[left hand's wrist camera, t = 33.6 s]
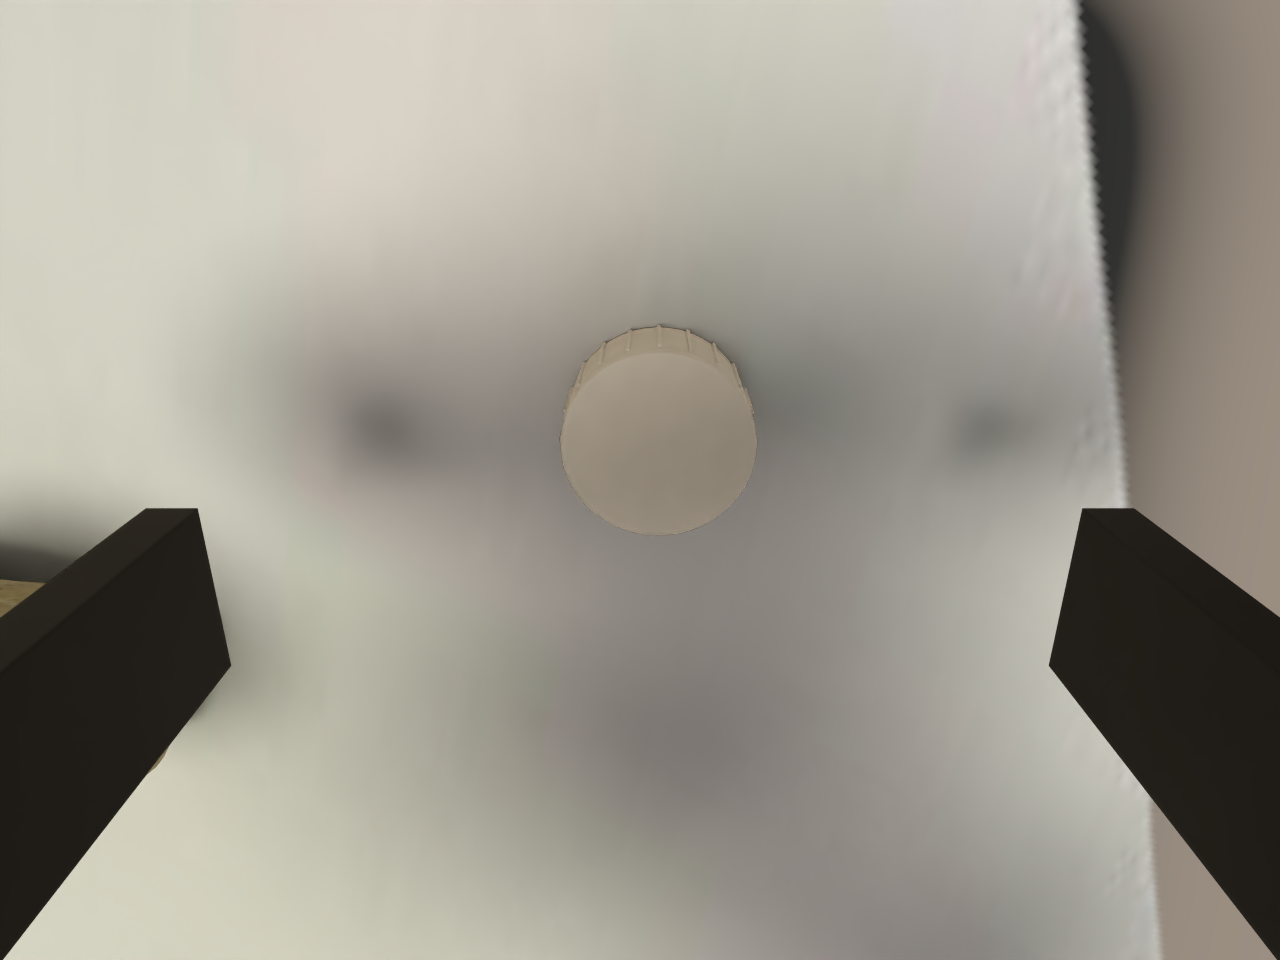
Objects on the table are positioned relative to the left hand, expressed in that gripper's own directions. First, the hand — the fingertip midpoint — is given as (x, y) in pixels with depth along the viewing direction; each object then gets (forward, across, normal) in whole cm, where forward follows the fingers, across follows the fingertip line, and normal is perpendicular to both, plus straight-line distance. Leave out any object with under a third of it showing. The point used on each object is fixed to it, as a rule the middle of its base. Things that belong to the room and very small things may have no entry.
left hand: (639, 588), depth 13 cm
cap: (+5, 0, -1) cm, 5 cm away
